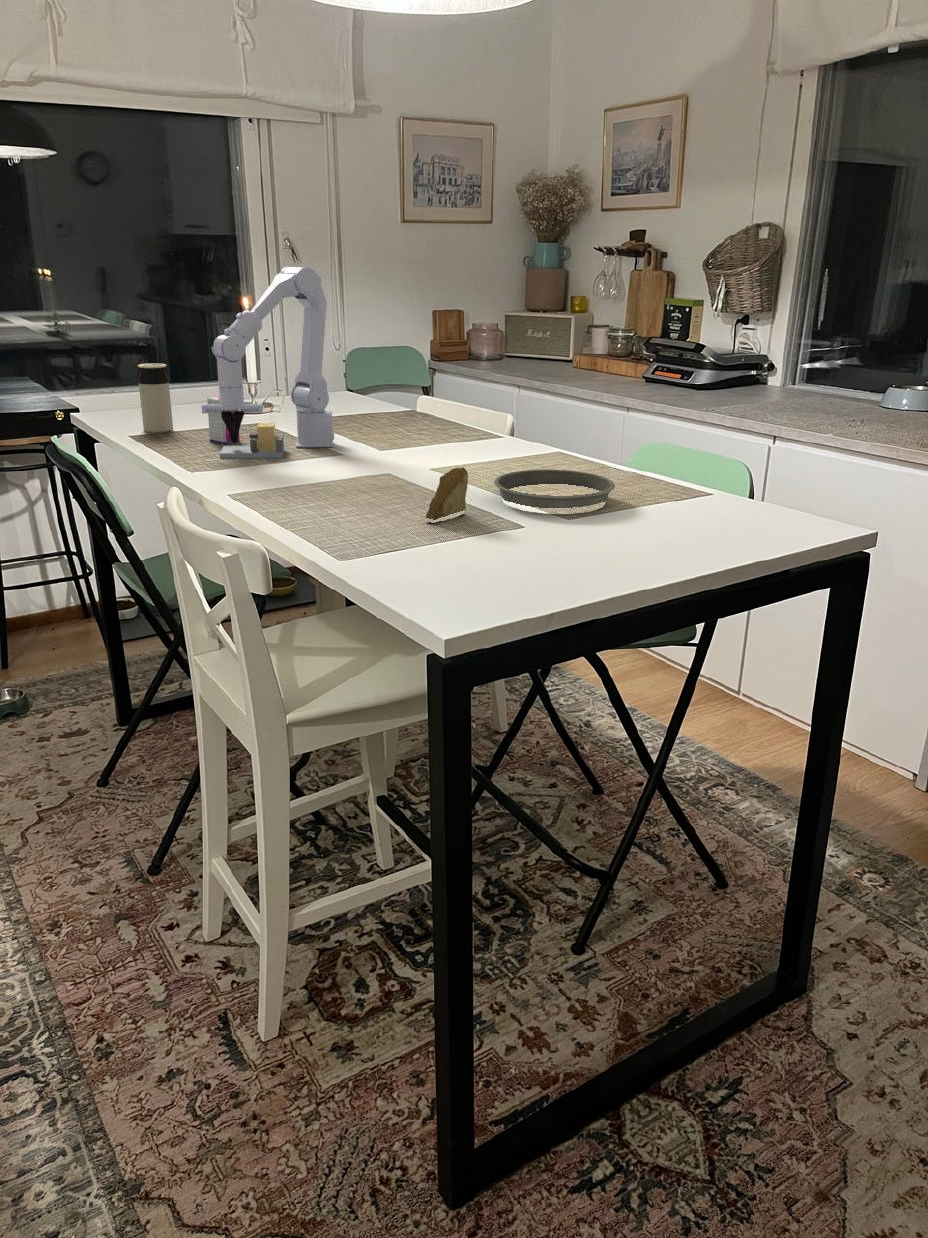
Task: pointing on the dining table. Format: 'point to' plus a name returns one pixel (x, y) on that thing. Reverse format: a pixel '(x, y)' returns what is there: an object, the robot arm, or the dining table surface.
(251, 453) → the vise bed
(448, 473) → the rock
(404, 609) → the dining table surface
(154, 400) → the travel mug
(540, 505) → the cake pan
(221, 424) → the supplement box
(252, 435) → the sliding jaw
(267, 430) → the brass block
